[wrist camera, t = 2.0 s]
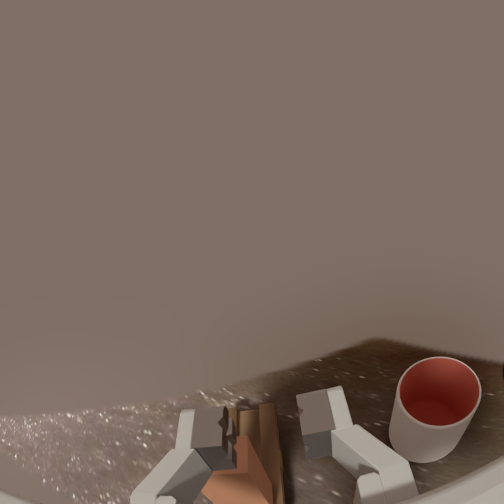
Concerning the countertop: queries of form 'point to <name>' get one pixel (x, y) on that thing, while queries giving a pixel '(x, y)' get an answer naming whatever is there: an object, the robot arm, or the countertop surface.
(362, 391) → the countertop surface
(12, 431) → the countertop surface
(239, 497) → the plate
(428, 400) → the cup
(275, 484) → the beam
